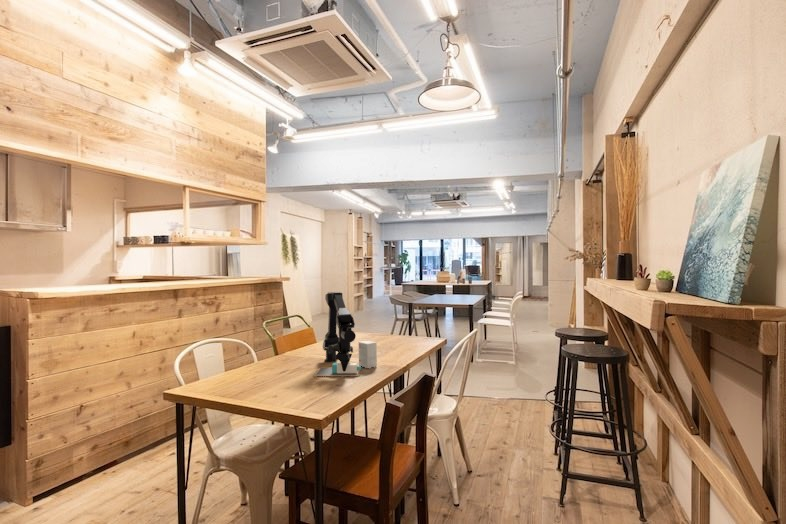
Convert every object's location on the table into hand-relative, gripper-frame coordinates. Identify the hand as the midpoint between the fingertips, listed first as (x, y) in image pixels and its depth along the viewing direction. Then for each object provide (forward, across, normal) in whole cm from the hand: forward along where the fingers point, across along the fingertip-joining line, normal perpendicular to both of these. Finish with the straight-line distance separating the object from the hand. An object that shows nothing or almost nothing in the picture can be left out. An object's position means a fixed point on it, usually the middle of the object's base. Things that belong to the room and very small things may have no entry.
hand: (344, 370), depth 211 cm
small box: (+2, -15, +10) cm, 18 cm away
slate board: (+2, -3, -4) cm, 5 cm away
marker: (+1, 0, 0) cm, 1 cm away
